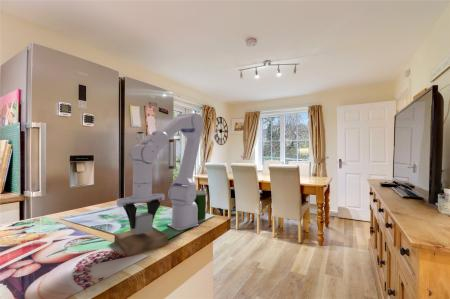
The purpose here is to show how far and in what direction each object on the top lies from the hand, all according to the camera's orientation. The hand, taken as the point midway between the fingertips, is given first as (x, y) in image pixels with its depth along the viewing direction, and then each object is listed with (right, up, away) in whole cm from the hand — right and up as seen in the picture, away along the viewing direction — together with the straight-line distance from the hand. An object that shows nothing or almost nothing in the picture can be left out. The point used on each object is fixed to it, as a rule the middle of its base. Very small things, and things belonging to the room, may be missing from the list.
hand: (141, 225), depth 70 cm
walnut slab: (0, -6, 0) cm, 6 cm away
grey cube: (0, -2, 0) cm, 2 cm away
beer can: (+15, -6, +24) cm, 29 cm away
